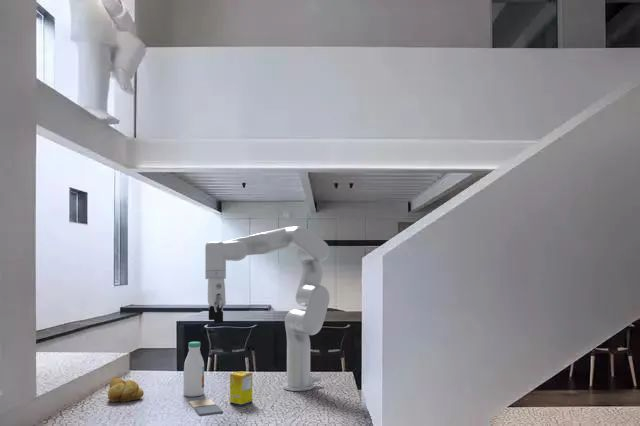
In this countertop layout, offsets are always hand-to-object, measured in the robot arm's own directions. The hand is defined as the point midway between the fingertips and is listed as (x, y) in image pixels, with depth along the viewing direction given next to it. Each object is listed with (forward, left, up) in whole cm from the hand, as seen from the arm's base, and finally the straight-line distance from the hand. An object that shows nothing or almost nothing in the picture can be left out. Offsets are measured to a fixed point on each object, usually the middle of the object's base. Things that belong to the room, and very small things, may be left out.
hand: (215, 321), depth 204 cm
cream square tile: (+5, 0, -30) cm, 30 cm away
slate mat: (+5, +10, -30) cm, 31 cm away
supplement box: (-8, +5, -30) cm, 31 cm away
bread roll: (+29, -18, -30) cm, 45 cm away
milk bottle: (+5, -15, -30) cm, 33 cm away
